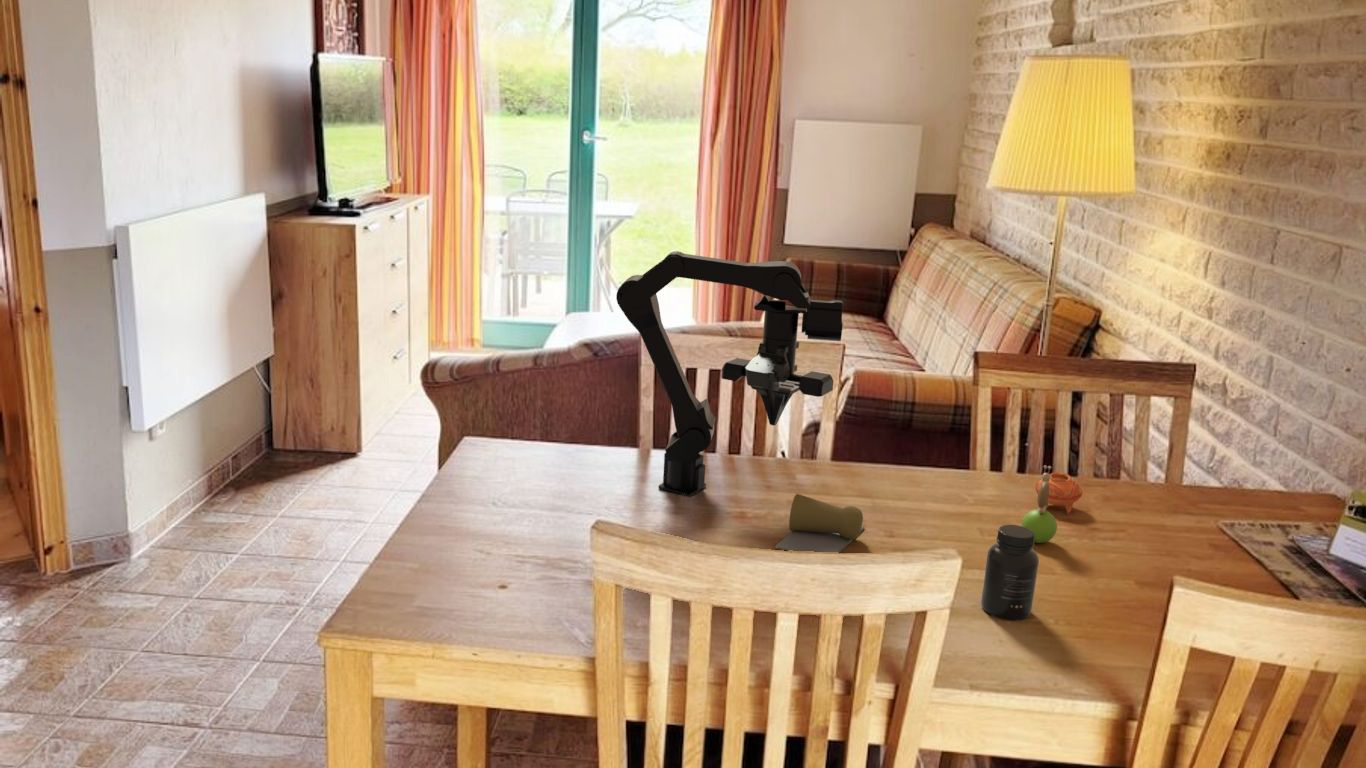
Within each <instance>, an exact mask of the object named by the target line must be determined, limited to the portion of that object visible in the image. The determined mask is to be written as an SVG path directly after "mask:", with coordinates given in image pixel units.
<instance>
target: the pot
mask: <svg viewBox="0 0 1366 768" xmlns="http://www.w3.org/2000/svg"><path fill="white" fill-rule="evenodd" d="M1049 475H1050V480H1049V485H1050V488H1049V500H1048V505H1052V506H1057V507H1065V510H1066V514H1070V513H1071V511H1072V509H1073V505H1074V503H1076V502H1077V501H1078V500H1079V499H1080V498H1082V496H1083V490H1082V488H1081V486H1080V484H1079V483H1078V482H1076V481H1075V480H1074V479H1073V478H1072V476H1070V474H1067V473H1064V472H1051V473H1049ZM1041 483H1042V478H1041V479H1040V480H1039V481H1038V482H1037V483H1036V484H1035V487H1034V489H1035V491H1036V493H1037V495H1038V491H1039V487H1040V486H1041Z"/></svg>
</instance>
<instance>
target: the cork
mask: <svg viewBox="0 0 1366 768" xmlns="http://www.w3.org/2000/svg"><path fill="white" fill-rule="evenodd" d="M863 520H864V519H863V512H862V510H861V509H860V508H859V507H856V506H853V505H852V506H850V505H849V506H848V505H847V506H845V507H840V506H836V505H835V504H831V503H828V502H824V501H822V500H818V499H815V498H811V497H808V496H805V495H802V494H799V493H796V494H795V495H794V497H793V500H792V503H791V508H790V514H789V522H788V526H789V528H788V529H789V530H790V531H791V532H793V531H808V532H824V533H839V534H840V535H841V536H842V537H844V538H847V539H853V540H854V539H857V538H858V537H859V535H860V533H861V532H862V531H861V528H862V526H863V522H864V521H863ZM860 531H861V532H860Z"/></svg>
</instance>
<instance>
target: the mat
mask: <svg viewBox="0 0 1366 768" xmlns="http://www.w3.org/2000/svg"><path fill="white" fill-rule="evenodd" d="M864 529H865V526H864V525H862V528H861V531H860V533H862V532H863V531H864ZM853 540H854V539H847V538H844V537H842V536H841V535H840V534H839V533H824V532H808V531H791V532H790V533H789V534H788V535H787V536H785V538H783V539H782V540H781V541H780V542H779V543H777V544H776V545H775V547H777V548H775V549H777V550H780V549H781V550H780V551H784V550H793V551H814V552H840V553H841V552H842V551H843V550H844V549H845V548H846V547H847V546H848V545H849V544H850V543H851V542H853Z"/></svg>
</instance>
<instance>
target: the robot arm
mask: <svg viewBox="0 0 1366 768" xmlns="http://www.w3.org/2000/svg"><path fill="white" fill-rule="evenodd" d="M676 278H682V279H690V280H696V281H703V282H709V283H710V282H711V283H714V284H715V283H716V284H723V285H730V286H736V287H742V288H746V289H749V290H752V291H754V292H757V293H758V294H762V297H761V298H760V299H759V300H757V301H756V302H755V303H754V307H753V309H754V310H755V311H763V312H764V320H763V331H762V332H763V334H762V342H759V344H758V349H757V354H756V355H755V356H754V357H753V358H752V359H745V358H738V357H736V358H734V359H732V360H730V361H726V362H725V363H724V364H723V365H722V367H721V376H720V377H721V380H722V379H723V380H726V381H727V380H728V381H733V382H738V381H739V380H740V379H741V378H742V377H745V378H746V384H747V386H749V387H750V388H751V389H752V390H755V391H756V392H757V393H758V394H759V396H760V397H761V399H762V402H763V404H764V409H765V411H766V417H767V419H768V423H769V425H770V426H776V425H777V424H778V422H779V421H780V418H781V417H782V414H783V413H784V410H785V408H786V407H787V404H788V403H789V401H790V400H791V398H792V396H793V395H794V394H795V393H797V392H799V391H800V392H801V394H802V395H806V396H811V397H816V398H817V397H818V398H819V397H823V396H825V395H827V394H828V393H830V392H832V391H833V390H834V389H833V388H834V380H833V377H832V375H831V374H829V373H824V372H823V373H822V372H819V371H814V370H813V371H809V372H807V373H806V374H804V375H802V374H796V373H795V372H797V371H798V365H797V364H795V363H796V352H797V351H796V350H797V349H799V347H800V342H799V341H797V339H798V330H799V329H798V327H799V315H800V314H802V319H801V333H802V334H804V336H807V340H815V341H817V340H818V341H830V342H841V340H842V334H843V324H844V323H843V319H842V318H843V304H844V303H843V301H842V300H838V299H837V300H836V299H833V300H822V299H811V296H810V295H809V292H807V290H806V289H805V287H804V285H803V284H802V274H801V271H800V269H799V267H798V266H797V265H796V264H795V263H794V262H791V261H789V260H788V261H787V260H783V261H782V260H777V261H776V260H774V261H762V262H761V261H760V262H759V261H758V262H742V261H735V260H729V259H722V258H715V257H709V256H708V257H707V256H702V255H697V254H696V255H695V254H688V253H683V252H681V251H671V252H669V253H668V254H667V255H666V256H665V257H664V258H663V259H662V260H661V261H660V262H658V263H657V264H655V265H654V266H652V267H651V268H650V269H648V270H647V271H646V272H644V273H643V274H635V275H632V276H629V277H628V278H627V279H625V281H624V282H623V283H622V284H621V285H620V286H619V287H618V290H617V292H616V296H615V297H616V303H617V305H618V306H619V308H620V310H621V311H622V313H623V314H624V316H625V317H626V318H627V321H629V323H630V324H631V326H633V327H634V328H635V329H636V330H637V332H638V333H639V335H640V336H641V339H642V341H643V343H644V345H645V348H646V350H647V352H648V354H649V357H650V359H651V361H652V364H653V366H654V368H655V371H656V372H657V374H658V378H659V379H660V382H661V384H662V387H663V388H664V390H665V394H666V395H667V397H668V400H669V403H670V404H671V408H672V413H673V415H672V416H673V419H674V425H675V426H674V427H675V430H676V431H675V432H673V433H672V434H671V436H670V438H669V441H668V443H667V446H666V448H665V453H664V458H663V475H662V476H663V478H662V479H663V480H662V483H660V484H659V485H658V489H660V490H664V491H667V492H673V493H676V494H680V495H684V496H692V495H694V494H695V493H698V492H699V491H700V490H702V489H703V488H704V487H707V483H706V482H705V480H706V479H705V478H706V465H705V464H704V455H703V454H700V453H702V452H704V451H706V450H707V449H708V448H709V447H710V444H711V442H712V440H713V437H714V436H713V435H714V431H715V422H716V419H717V417H716V416H715V415H714V414H713V412H712V411H711V409H710V404H709V400H708V399H707V398H706V399H704V400H702V401H700V399H698V398H697V397H696V396H695V395H694V393H693V390H692V388H691V387H690V384H689V382H688V379H687V378H686V375H685V373H684V371H683V368H682V366H681V363H680V361H679V359H678V357H677V354H676V352H675V350H674V347H673V346H672V343H671V341H670V339H669V336H668V334H667V332H666V330H665V327H664V325H663V323H662V322H663V321H662V318H661V317H662V315H661V311H660V310H661V309H660V303H659V300H658V296H657V294H658V292H660V291H661V290H662V289H664V288H665V287H666V286H667V285H669V284H670V283H672V282H673V281H674V280H675V279H676ZM770 297H771V298H773V299H770ZM787 301H788V302H789V303H790V304H791V305H787V304H786V303H787ZM792 305H793V306H792Z"/></svg>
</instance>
